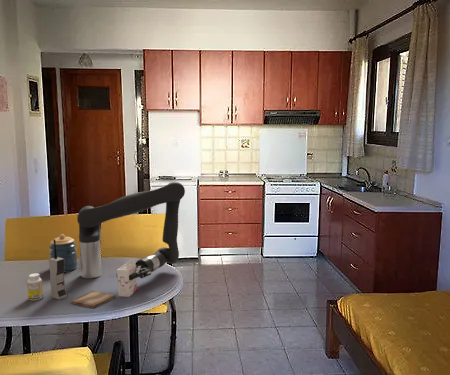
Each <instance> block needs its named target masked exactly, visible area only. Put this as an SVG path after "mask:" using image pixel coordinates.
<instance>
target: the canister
mask: <svg viewBox="0 0 450 375" xmlns="http://www.w3.org/2000/svg"><path fill="white" fill-rule="evenodd" d="M54 239H55V242H56V252H57V257H59V258H64V273H66V272H71V271H73V270H76V269H77V268H78V266H79V261H78V255H77V252H78V251H77V248H76V246H77V245H78V244H77V243H76V242H75V239H74V238H72V237H71V236H66V235H65V234H64V233H61V234H60V235H59V236H58V237H54V238H53V239H52V240H51V241H50V242H49V243H50V245H48V249H49V253H48V254H49V259H52V258H54V257H55V255H54Z"/></svg>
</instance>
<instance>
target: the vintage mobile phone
mask: <svg viewBox="0 0 450 375" xmlns="http://www.w3.org/2000/svg"><path fill="white" fill-rule="evenodd" d="M53 239H54V255H55V257H54V258H52V259H50V258H49V260H48V261H49V264H48V265H49V278H50V291H51V292H50V294H51V299H52V298H53V299H56V300H58V301H59V300H63V299H65V298H67V297H68V296H67V295H68V294H67V292H66V288H65V286H66V285H65V272H64V258H59V257H57V252H56V242H55V238H53Z"/></svg>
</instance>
